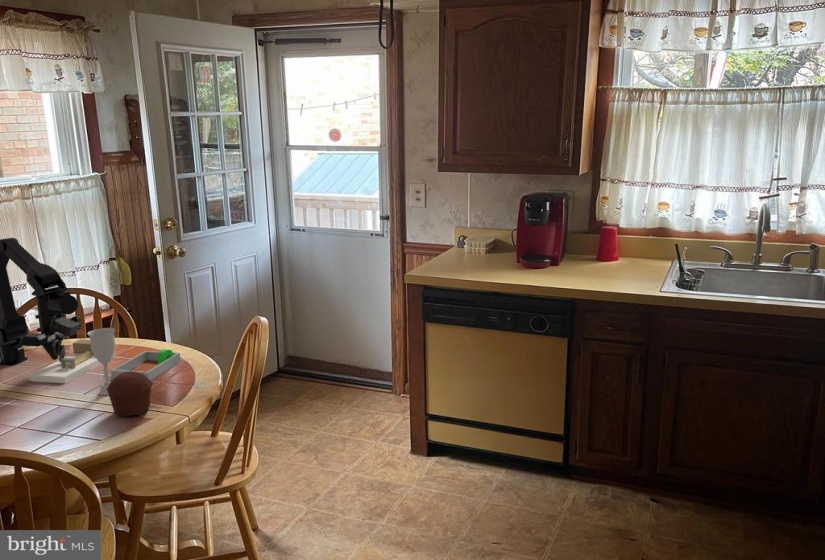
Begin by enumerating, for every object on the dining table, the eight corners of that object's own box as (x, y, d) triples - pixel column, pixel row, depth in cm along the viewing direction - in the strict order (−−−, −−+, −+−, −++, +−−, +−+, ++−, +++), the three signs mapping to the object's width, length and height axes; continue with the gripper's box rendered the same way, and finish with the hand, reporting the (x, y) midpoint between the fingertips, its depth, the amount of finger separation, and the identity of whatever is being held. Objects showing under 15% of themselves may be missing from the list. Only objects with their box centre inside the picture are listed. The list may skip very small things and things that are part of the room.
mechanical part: (176, 378, 210) (173, 353, 208) (159, 376, 212) (156, 352, 210) (198, 365, 221) (195, 341, 219) (182, 363, 223) (179, 340, 221)
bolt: (53, 365, 208) (51, 348, 207) (75, 355, 218) (72, 338, 217) (71, 366, 207) (69, 349, 206) (92, 356, 217) (90, 339, 215)
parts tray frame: (111, 379, 202) (110, 370, 202) (146, 359, 220) (145, 350, 219) (148, 382, 200) (147, 372, 200) (180, 361, 218) (179, 352, 217)
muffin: (107, 406, 183) (103, 371, 181) (150, 397, 189) (147, 363, 186) (112, 421, 173) (108, 385, 171) (158, 412, 178) (154, 376, 176)
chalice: (116, 385, 198) (110, 326, 194) (126, 391, 193) (119, 331, 189) (90, 392, 193) (83, 331, 189) (99, 398, 188) (92, 336, 184)
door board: (29, 381, 202) (27, 363, 201) (82, 355, 225) (80, 339, 224) (65, 383, 200) (63, 365, 199) (114, 356, 223) (113, 341, 222)
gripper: (50, 320, 194) (56, 371, 197) (92, 303, 212) (97, 351, 215) (16, 318, 196) (23, 369, 199) (61, 302, 214) (67, 349, 217)
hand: (55, 359), depth 208 cm, fingers closed
